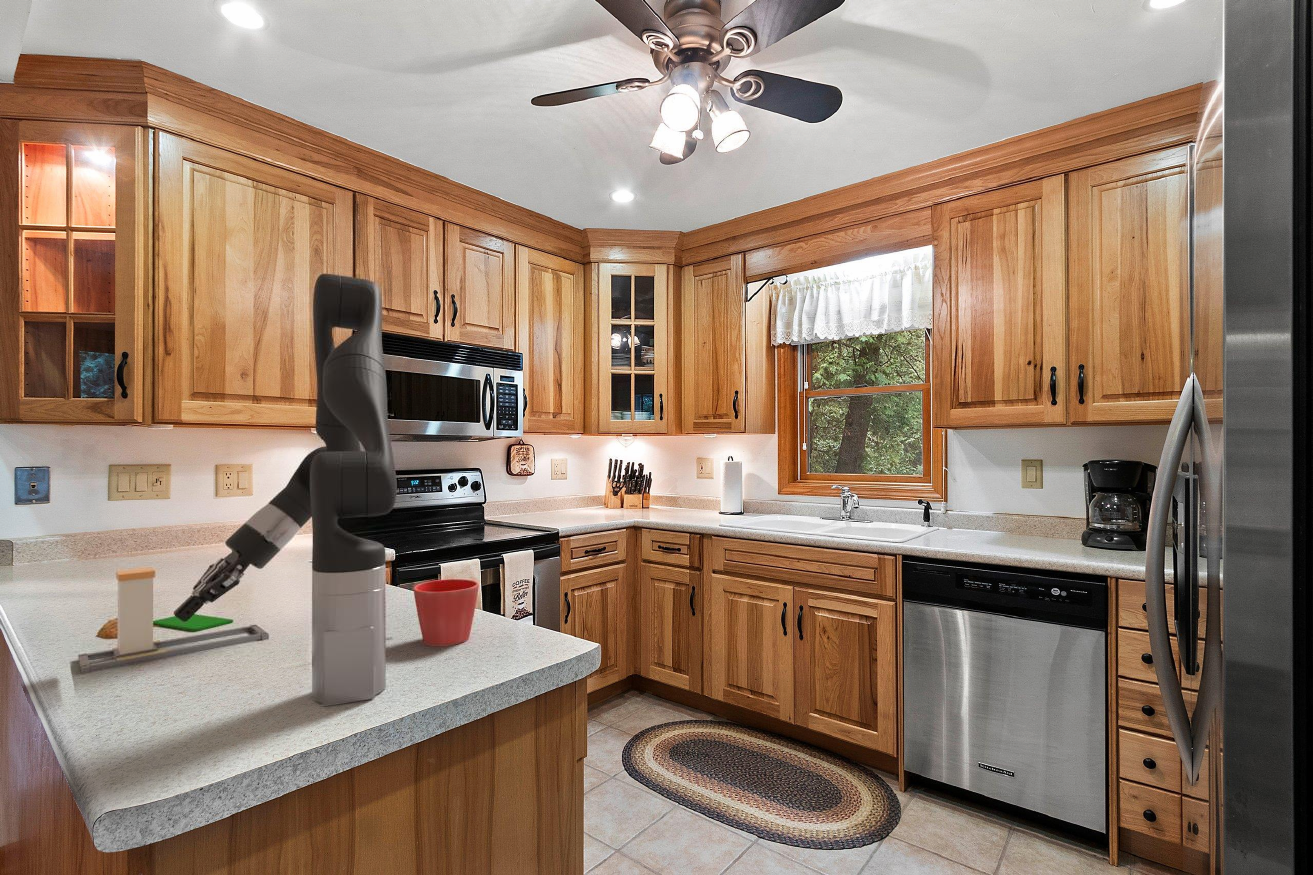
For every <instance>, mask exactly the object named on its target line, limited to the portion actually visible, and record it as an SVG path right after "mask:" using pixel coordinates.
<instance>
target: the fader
mask: <svg viewBox="0 0 1313 875" xmlns="http://www.w3.org/2000/svg"><path fill="white" fill-rule="evenodd" d="M115 577H116V580H117V618H118V639H117V647H115V648H116V649H113V656H112V658H113V660H116V658H120V657H125V656H131V655H136V654H142V653H148V652H153V651H158V648H157V647H156V646H155V644H154V643H153V641H154V627H153V621H154V578H155V577H156V571H155V569H154V568H152V567H144V568H136V569H135V568H134V569H127V570H118V571H117V570H116V572H115Z"/></svg>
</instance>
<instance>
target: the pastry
mask: <svg viewBox="0 0 1313 875" xmlns="http://www.w3.org/2000/svg"><path fill="white" fill-rule="evenodd" d="M96 637H99V638H102V639H105V640H116V639H117V640H118V617H116V618H114V619H109V620H108V621H107V622H106V623H104V624H103V626H102V627H100V628H99V630H98V631H97V634H96Z"/></svg>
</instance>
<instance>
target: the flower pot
mask: <svg viewBox="0 0 1313 875" xmlns="http://www.w3.org/2000/svg"><path fill="white" fill-rule="evenodd" d="M479 586H480V584H479V582H478V581H475V580H473V579H461V578H460V579H459V578H456V579H455V578H447V579H446V578H444V579H436V580H430V581H425V582H421V583H418V584H416V585H415V586H413V595H414V600H415V606H416V612H417V619H418V623H419V628H420V633H421V637H422V640H423V643H424V645H428V646H431V647H448V646H453V645H454V646H455V645H458V644H461V643H464V642H467V641H468V640H469V638H470V637H471V636H470V635H471V631H472V628H473V627H472V626H473V621H474V616H475V612H476V606H477V600H478V593H479V588H480V587H479Z"/></svg>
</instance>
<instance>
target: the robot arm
mask: <svg viewBox="0 0 1313 875" xmlns="http://www.w3.org/2000/svg"><path fill="white" fill-rule="evenodd" d="M312 297H313V298H312V318H313V319H312V323H313V325H312V326H313V346H314V347H313V348H314V361H315V371H316V372H315V373H316V407H315V408H316V410H315V424H314V425H315V427H314V428H315V432H316V435H317V436H318V437H319V438H320V439H321V440H322V441H323V442H324V446H319V447H317V448H315V449H314V450H312V451H310V452H309V453H308V454H307V455H306V456H305V457H304V459H303V460H302V461H301V462H300V464H299V465H298V467H297V468H296V470H295V472H294V473H293V475H292V476H291V478H290V479H289V481H288V483H287V485H286V486H285V487H284V488H283V489H282V490H280V491H279V492H278V493H277V494H276V495H275V496H273V498H272V499H271V500H270V501H269V502H268V503H267V504H265V506H263V507H261V508H260V509H259V510H258V511H256V512H255V513H254V514H252V516H250V518H249V519H248V520H246V521H245V522H244V523H243V524H242V525H241V526H240V527H239V528H238V529H236V531H235V532H233V534H231V535H230V536H229V538H227V539H226V540H225V542H224V544H225V546H226V547H227V548H229V549H230V550H231V552H230V553H229V554H227V555H226V556H225V557H223V558H222V557H220V558H219V559H218V560H217V561H216V562H215V563H212V564H210V565H209V566H208V568H207V569H206V570H205V572H204V573H203V574H202V576H201V577H200V578H199V579H198V580H197V582H196V583H195V585H194V586H193V588H192V592H191V595H190V596H188V598H187V599H186V600H184V602H182V604H180V605H179V606H178V607H177V608H176V609H175V610H174V611H173V616H176V617H177V618H179V619H180V620H182V621H183V622H186V621H188V620H189V619H190V618H191V617H192V616H193V615H194V614H196V613H197V612H198V611H199V610H200V609H201V608H202V607H203V606H204V605H207V604H209V603H213V602H216V600H218V599H219V598H221V597H222V596H224V595H225V594H227V593H228V592H229V591H231V590H232V589H234V588H235V587H236V586H238V585H239V584H240V583H241V580H240V579H242V577H244V575H245V573H244V572H245V571H247V569H248V568H249V566H253V567H255V568H256V569H257V570H262V569H263V568H264V567H266V566H267V565H268V564H269V563H270V562H271V561H272V560H273V559H274V558H275V556H276V555H277V554H278V553H279V552H281V550H282V549H283V548H284V547H285V546H287V545H288V543H290V541H291V540H292V539H293V538H294V537H295V536H296V534H297V533H298V532H299V530H300V529H302V527H304V525H305V524H306V523H308V522H309V521H310V519H311V522H312V523H311V524H312V526H311V527H312V529H311V530H312V554H311V556H312V558H311V698H312V700H314V701H315V702H317V703H321V704H322V706H323V707H326V706H327V707H328V706H333V705H340V704H345V703H346V704H347V703H352V702H360V701H365V700H372V699H375V696H376V695H378V694H380V693H381V692H382V691H384V690H385V689H386V687H387V686H386V684H387V683H386V680H387V678H386V677H387V672H386V671H387V668H386V667H387V666H386V665H387V664H386V663H387V660H386V659H387V657H386V654H387V652H386V651H387V650H386V648H387V647H386V645H387V644H386V643H387V642H386V640H387V639H386V633H387V632H386V628H387V627H386V626H387V625H386V621H387V620H386V618H387V617H386V614H387V613H386V611H387V610H386V609H387V608H386V605H387V604H386V584H387V583H386V581H387V580H386V575H387V574H386V567H387V566H386V560H387V559H386V557H387V556H386V554H387V553H386V549H385V546H384V544H382V543H380V542H378V541H375V540H371V539H367V538H363V537H359V536H357V535H354V534H351V533H350V532H348V531H346V530H345V529H343V528H342V527H341V526H339V524H338V520H339V519H342V518H343V519H345V518H365V517H366V518H367V517H378V516H383V515H387V514H389V513H390V512H391V511H392V510H393V509H394V506H395V505H396V500H397V490H398V482H397V473H396V466H395V460H394V453H393V448H392V441H391V436H390V435H391V434H390V429H389V420H388V415H389V414H388V387H387V374H386V373H387V372H386V366H385V359H384V350H383V338H382V337H383V298H382V293H381V288H380V287H379V285H378V284H377V283H376V282H374V281H372V280H370V279H365V278H359V277H353V276H347V275H340V274H331V273H321V274H319V275H318V277H317V278H316V281H315V284H314V288H313V296H312ZM335 328H338V329H345V330H346V329H347V330H356V331H355V332H354V333H352V335H350V336H349V337H347V338H346V339H345V340H343V341H342V342H341V343H340V344H339V345H337V346H335V342H334V336H333V335H334V334H333V329H335ZM360 443H361V445H362V447H363V449H364V450H361V445H360Z"/></svg>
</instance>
